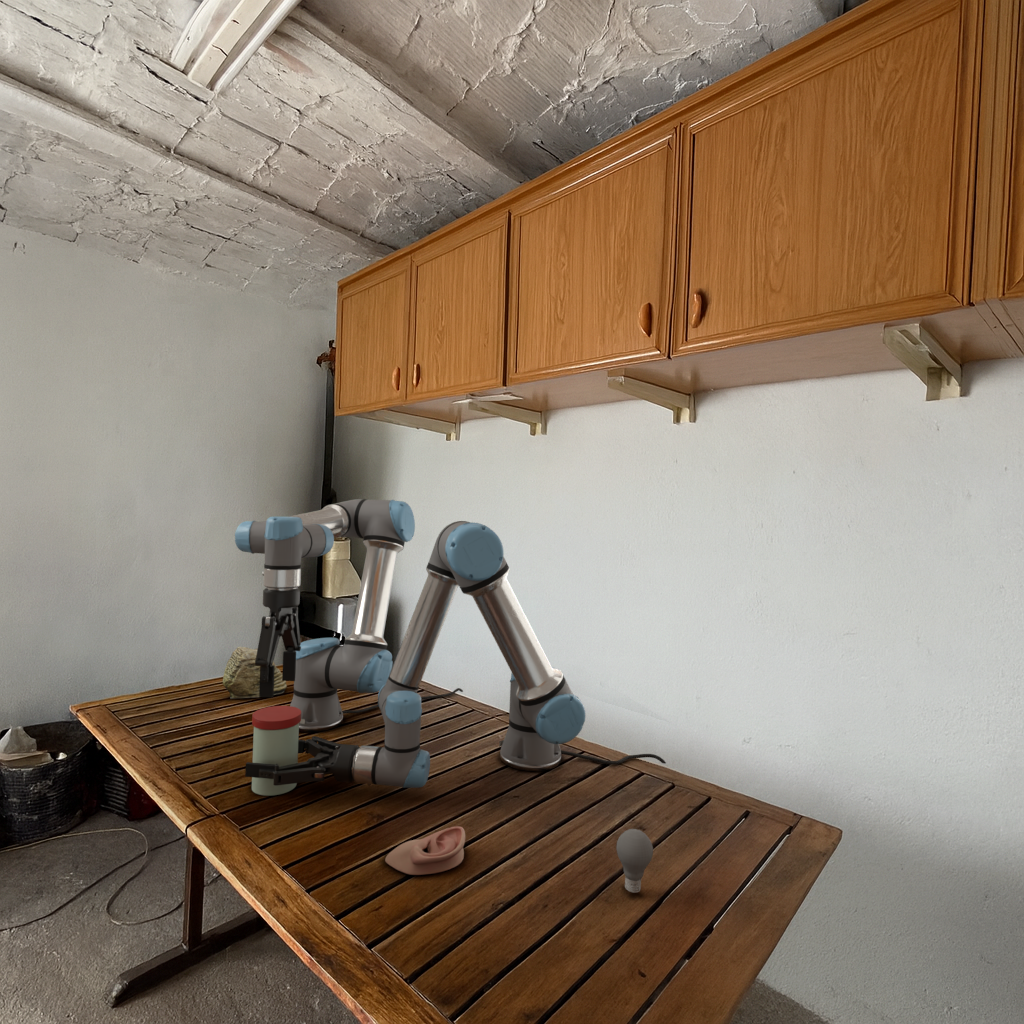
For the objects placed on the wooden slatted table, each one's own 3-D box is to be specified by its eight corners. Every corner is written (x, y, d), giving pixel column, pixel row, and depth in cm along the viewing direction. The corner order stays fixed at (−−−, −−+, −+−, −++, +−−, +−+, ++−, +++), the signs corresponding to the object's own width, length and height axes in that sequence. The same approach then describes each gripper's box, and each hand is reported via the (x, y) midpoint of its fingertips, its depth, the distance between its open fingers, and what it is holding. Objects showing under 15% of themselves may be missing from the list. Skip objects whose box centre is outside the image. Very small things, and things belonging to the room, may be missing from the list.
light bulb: (610, 879, 108) (613, 822, 108) (644, 879, 109) (647, 822, 109) (619, 902, 102) (622, 840, 102) (655, 901, 103) (658, 840, 103)
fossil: (218, 695, 195) (220, 647, 195) (278, 685, 208) (279, 640, 207) (228, 703, 189) (230, 653, 188) (289, 692, 201) (290, 645, 201)
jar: (303, 778, 142) (306, 710, 142) (285, 797, 133) (288, 724, 133) (264, 775, 143) (266, 706, 143) (243, 793, 134) (245, 720, 133)
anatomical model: (378, 846, 108) (403, 814, 120) (377, 869, 108) (402, 835, 120) (453, 858, 106) (471, 824, 117) (452, 882, 106) (470, 846, 117)
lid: (308, 715, 142) (308, 707, 142) (288, 731, 132) (289, 723, 132) (265, 712, 143) (266, 704, 143) (243, 727, 133) (243, 719, 133)
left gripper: (286, 580, 149) (282, 672, 149) (239, 595, 125) (235, 704, 126) (317, 581, 149) (314, 674, 149) (276, 596, 125) (272, 706, 126)
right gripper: (335, 809, 124) (231, 800, 125) (374, 758, 148) (286, 751, 150) (336, 771, 124) (232, 762, 125) (375, 726, 148) (287, 719, 150)
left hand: (278, 688), depth 137 cm, fingers open, 11 cm apart
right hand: (261, 756), depth 138 cm, fingers open, 13 cm apart
